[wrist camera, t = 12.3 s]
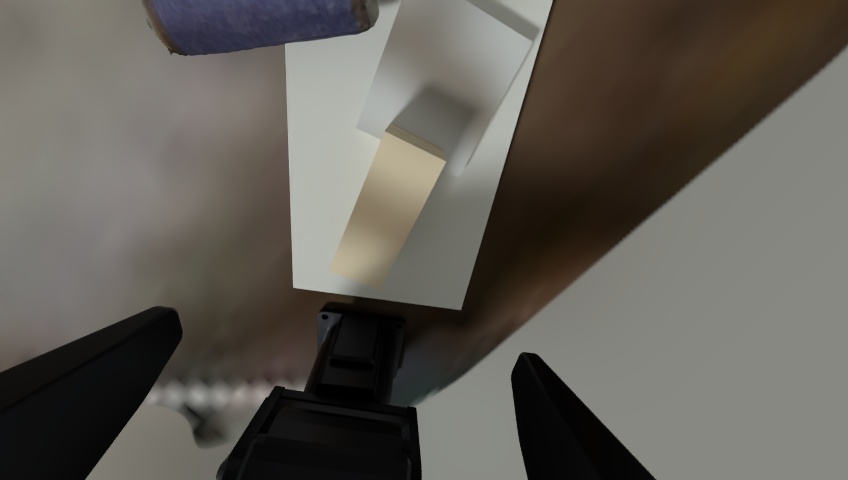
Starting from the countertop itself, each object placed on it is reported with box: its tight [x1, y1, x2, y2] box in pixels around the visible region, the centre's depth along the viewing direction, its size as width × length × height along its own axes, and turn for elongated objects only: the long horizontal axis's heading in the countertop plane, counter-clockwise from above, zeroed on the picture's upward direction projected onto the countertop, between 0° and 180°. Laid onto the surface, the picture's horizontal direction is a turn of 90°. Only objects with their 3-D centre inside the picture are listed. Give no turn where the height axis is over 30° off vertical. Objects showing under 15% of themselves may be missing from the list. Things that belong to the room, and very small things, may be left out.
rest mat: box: [285, 0, 553, 310], centre depth 18 cm, size 20×12×1 cm, turn 170°
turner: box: [329, 0, 533, 290], centre depth 16 cm, size 14×6×4 cm, turn 154°
